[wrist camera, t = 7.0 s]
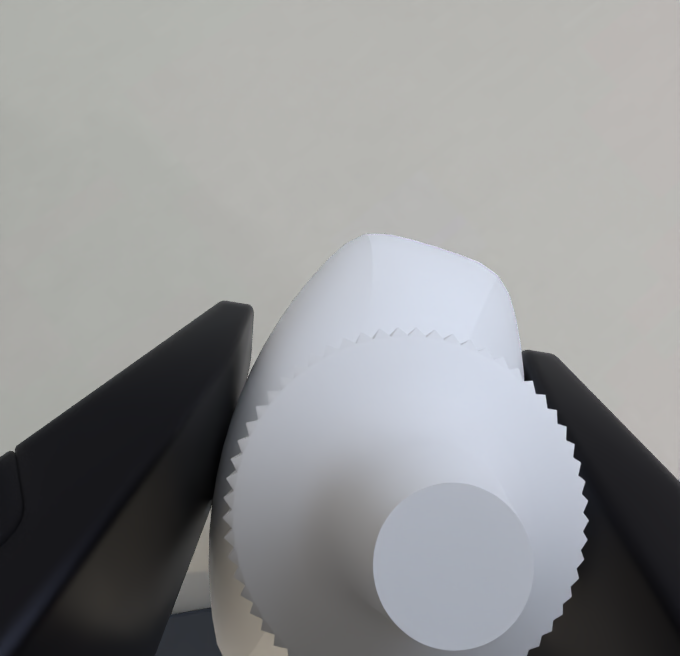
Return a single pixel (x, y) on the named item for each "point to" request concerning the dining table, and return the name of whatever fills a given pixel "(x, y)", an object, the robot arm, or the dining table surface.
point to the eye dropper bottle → (393, 472)
